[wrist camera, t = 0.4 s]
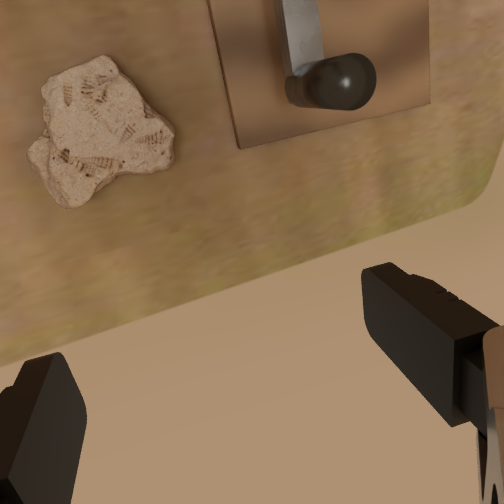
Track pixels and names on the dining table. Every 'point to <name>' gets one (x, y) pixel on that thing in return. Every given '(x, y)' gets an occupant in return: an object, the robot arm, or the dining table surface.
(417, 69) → the board
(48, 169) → the stone
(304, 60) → the lever
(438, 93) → the dining table surface
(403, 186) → the dining table surface
